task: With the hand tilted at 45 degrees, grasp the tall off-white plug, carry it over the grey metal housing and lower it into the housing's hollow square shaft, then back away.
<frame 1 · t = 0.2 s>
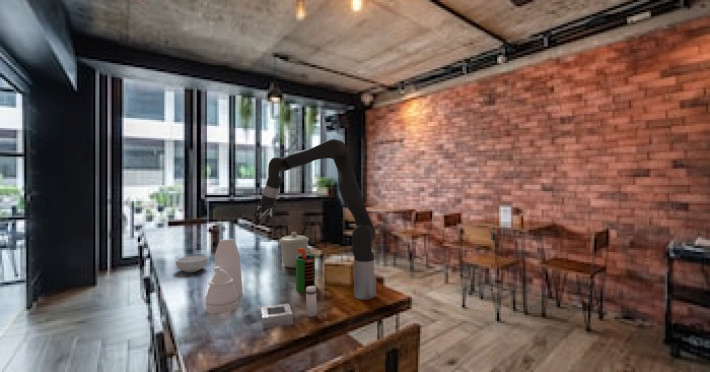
hand: (261, 223, 179), 31 cm above the table, tool tilted 20°, fingers open, 8 cm apart
housing: (276, 320, 135), on the table
cereal bowl: (192, 270, 206), on the table
plug: (311, 314, 140), on the table
honey pot: (221, 308, 148), on the table
tall white vase: (228, 293, 166), on the table
canister: (294, 266, 214), on the table
motor: (305, 289, 172), on the table
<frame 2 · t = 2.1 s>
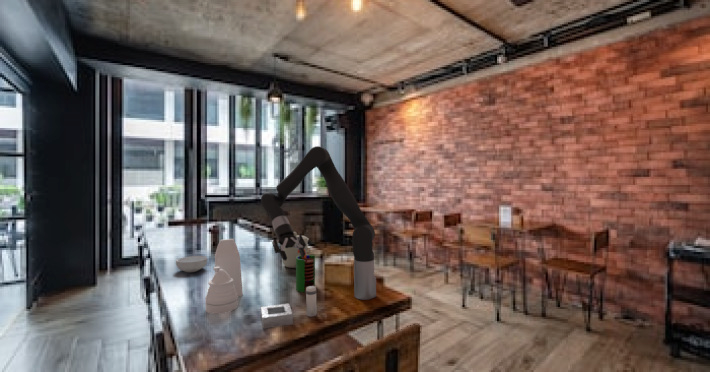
hand: (294, 258, 149), 21 cm above the table, tool tilted 45°, fingers open, 8 cm apart
nothing on the table moved.
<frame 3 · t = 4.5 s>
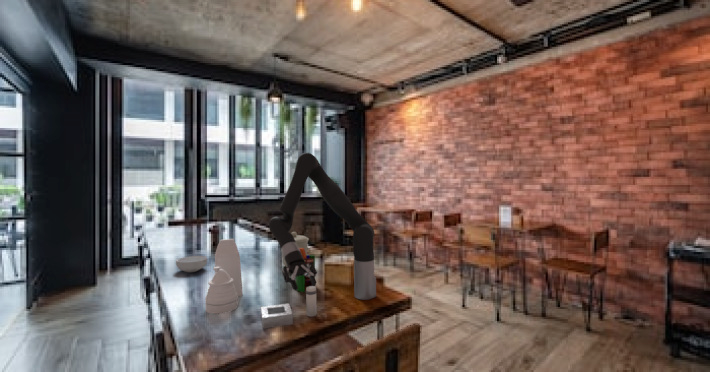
hand: (305, 287, 143), 10 cm above the table, tool tilted 45°, fingers open, 8 cm apart
nothing on the table moved.
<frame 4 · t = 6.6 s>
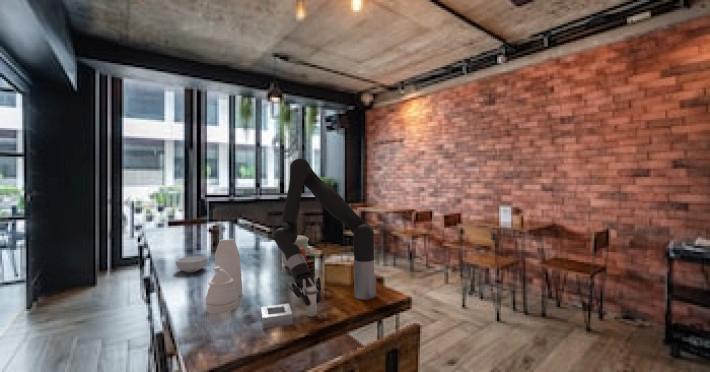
hand: (314, 303, 139), 5 cm above the table, tool tilted 45°, fingers closed on plug, 4 cm apart
plug: (311, 314, 140), on the table, touching gripper
everything else where it was.
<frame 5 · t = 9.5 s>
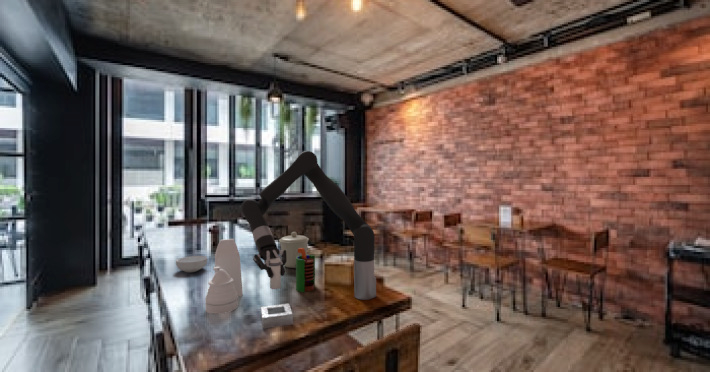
hand: (277, 275, 133), 18 cm above the table, tool tilted 45°, fingers closed on plug, 4 cm apart
plug: (275, 287, 135), point 13 cm above the table, touching gripper
everything else where it was.
when the fingers open (6 cm above the table, at t = 12.6 s): plug drops 1 cm, resting in housing.
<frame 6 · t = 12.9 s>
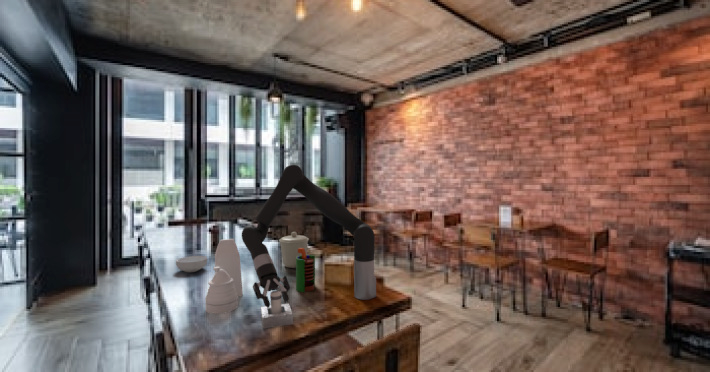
hand: (277, 304, 133), 7 cm above the table, tool tilted 45°, fingers open, 7 cm apart
plug: (276, 320, 135), resting in housing
everything else where it was.
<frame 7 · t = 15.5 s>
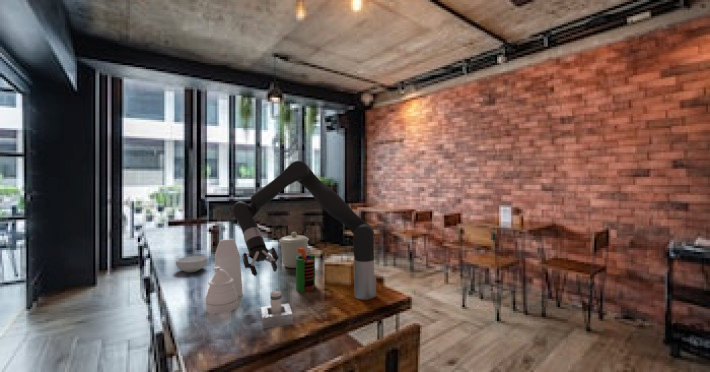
hand: (265, 272, 144), 16 cm above the table, tool tilted 45°, fingers open, 8 cm apart
nothing on the table moved.
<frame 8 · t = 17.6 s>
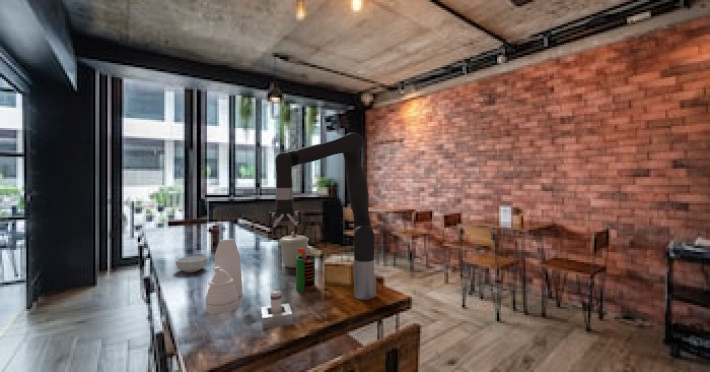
hand: (285, 234, 153), 30 cm above the table, tool pointing down, fingers open, 8 cm apart
nothing on the table moved.
at the end: plug 0.1 cm off-centre on the housing, point 0.0 cm above the housing's base; plug tilted 0°; the gripper is holding nothing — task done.
